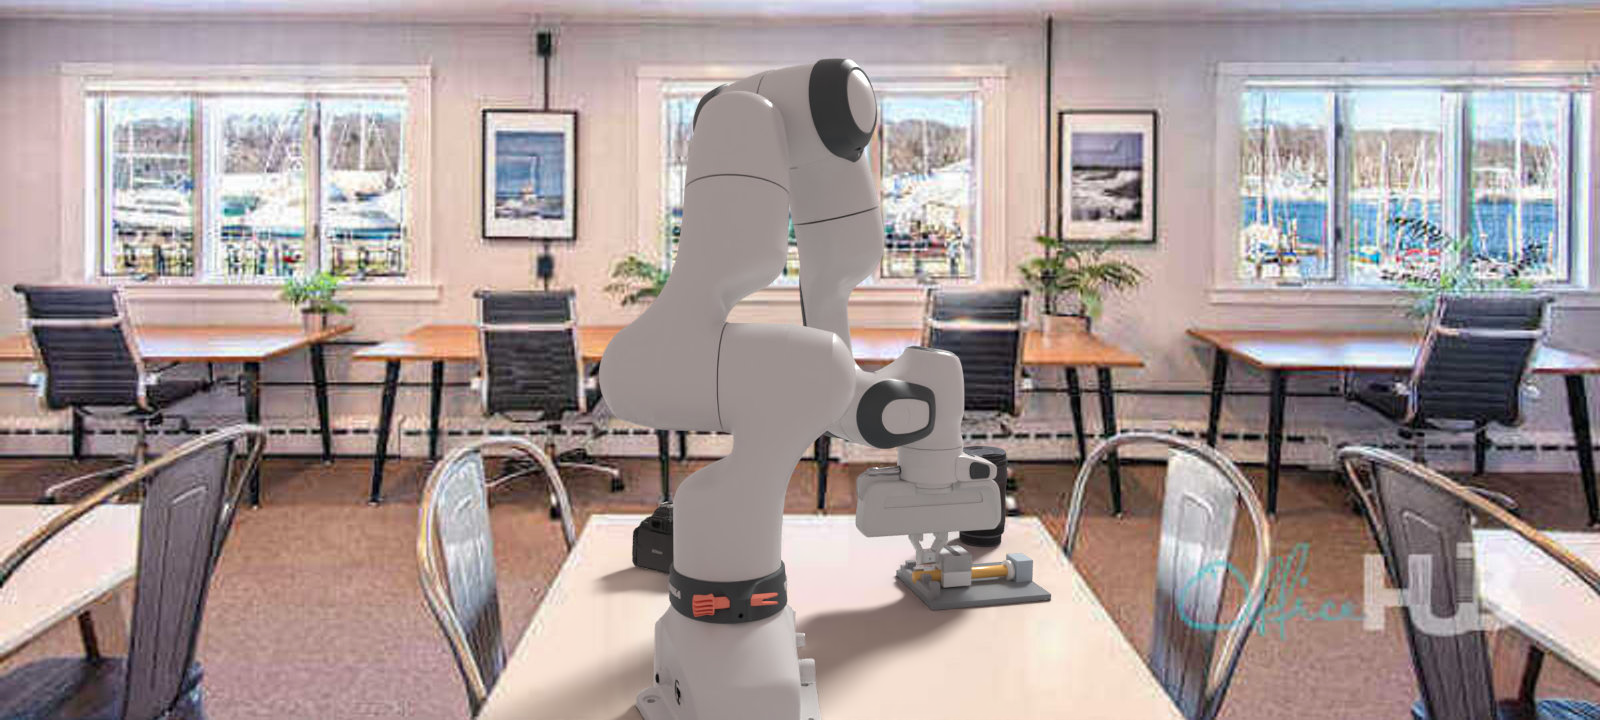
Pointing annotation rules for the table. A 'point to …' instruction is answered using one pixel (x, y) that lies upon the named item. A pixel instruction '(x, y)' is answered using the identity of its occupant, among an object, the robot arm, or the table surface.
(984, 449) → the camera lens
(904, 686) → the table surface
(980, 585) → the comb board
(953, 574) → the sleeve
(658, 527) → the camera
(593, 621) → the table surface
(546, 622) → the table surface
